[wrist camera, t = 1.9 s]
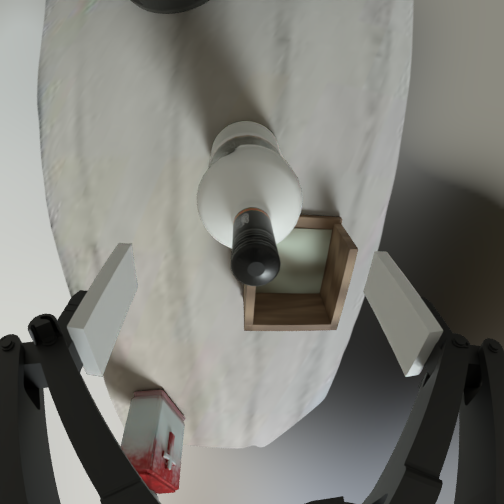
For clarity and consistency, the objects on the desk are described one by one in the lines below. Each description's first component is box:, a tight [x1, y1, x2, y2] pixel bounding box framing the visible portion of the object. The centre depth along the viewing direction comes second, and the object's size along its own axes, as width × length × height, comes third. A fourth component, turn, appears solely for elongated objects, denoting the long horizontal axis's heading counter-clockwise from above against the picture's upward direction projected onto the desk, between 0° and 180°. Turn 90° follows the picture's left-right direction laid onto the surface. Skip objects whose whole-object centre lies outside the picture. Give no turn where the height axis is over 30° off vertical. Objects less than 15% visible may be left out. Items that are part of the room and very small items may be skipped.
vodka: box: [197, 121, 303, 286], centre depth 29 cm, size 9×9×30 cm
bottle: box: [121, 390, 185, 501], centre depth 58 cm, size 14×10×30 cm
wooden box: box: [243, 215, 358, 331], centre depth 47 cm, size 16×14×9 cm
